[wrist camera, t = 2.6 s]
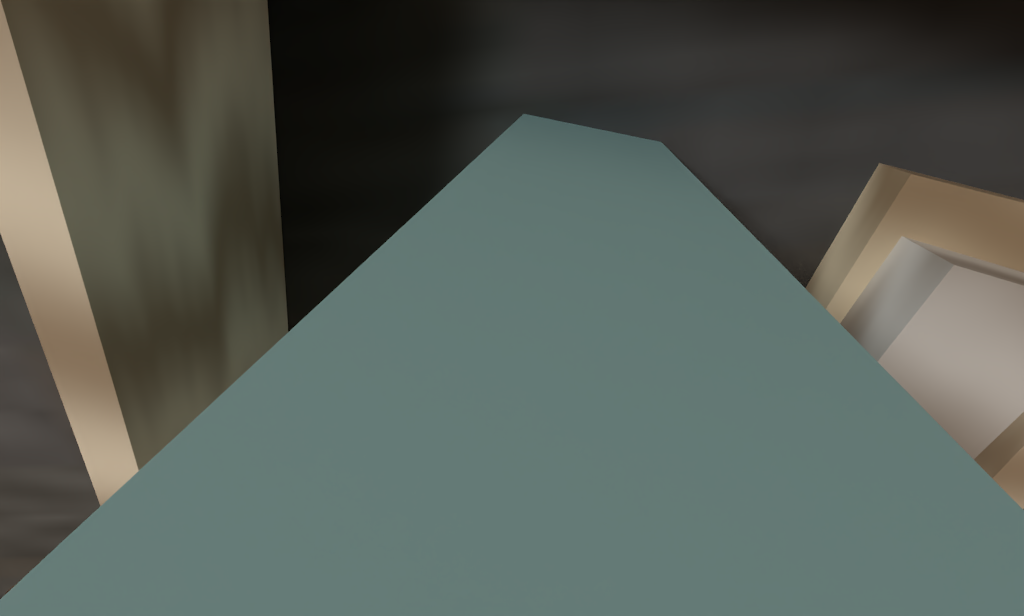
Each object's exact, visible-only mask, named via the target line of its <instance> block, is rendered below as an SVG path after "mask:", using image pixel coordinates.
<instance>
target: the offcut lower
mask: <svg viewBox="0 0 1024 616" xmlns="http://www.w3.org/2000/svg"><path fill="white" fill-rule="evenodd" d="M902 236H903V237H907V238H910V239H913V240H917V241H920V242H923V243H927V244H930V245H933V246H937V247H940V248H943V249H947V250H950V251H953V252H957V253H960V254H963V255H967V256H970V257H973V258H977V259H980V260H983V261H987V262H990V263H993V264H997V265H1000V266H1003V267H1007V268H1010V269H1014V270H1017V271H1020V272H1024V200H1021V199H1017V198H1013V197H1010V196H1006V195H1002V194H998V193H994V192H990V191H986V190H982V189H978V188H974V187H971V186H967V185H963V184H959V183H955V182H951V181H947V180H943V179H939V178H936V177H932V176H928V175H924V174H920V173H916V172H912V171H908V170H904V169H900V168H897V167H893V166H889V165H885V164H881V163H879V165H878V166H877V168H876V170H875V172H874V173H873V175H872V177H871V178H870V180H869V182H868V183H867V185H866V187H865V188H864V190H863V192H862V194H861V195H860V197H859V199H858V200H857V202H856V204H855V205H854V207H853V209H852V210H851V212H850V214H849V215H848V217H847V219H846V221H845V222H844V224H843V226H842V227H841V229H840V231H839V232H838V234H837V236H836V237H835V239H834V241H833V243H832V244H831V246H830V248H829V249H828V251H827V253H826V254H825V256H824V258H823V259H822V261H821V263H820V264H819V266H818V268H817V270H816V271H815V273H814V275H813V276H812V278H811V280H810V281H809V283H808V285H807V286H806V288H805V289H806V290H807V291H808V292H809V293H810V294H811V295H812V296H813V297H814V298H815V299H816V300H817V301H818V302H819V303H820V304H821V305H822V306H823V307H824V308H825V309H826V310H827V311H828V312H829V313H830V314H831V315H832V316H833V317H834V318H835V319H836V320H837V321H838V322H839V323H841V321H842V320H843V319H844V317H845V316H846V314H847V313H848V312H849V310H850V309H851V307H852V306H853V304H854V303H855V302H856V300H857V299H858V297H859V296H860V295H861V293H862V292H863V290H864V289H865V287H866V286H867V285H868V283H869V282H870V280H871V279H872V278H873V276H874V275H875V273H876V272H877V271H878V269H879V268H880V266H881V265H882V263H883V262H884V261H885V259H886V258H887V256H888V255H889V254H890V252H891V251H892V249H893V248H894V247H895V245H896V244H897V242H898V241H899V239H900V238H901V237H902Z"/></svg>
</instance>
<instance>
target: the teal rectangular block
mask: <svg viewBox="0 0 1024 616" xmlns="http://www.w3.org/2000/svg"><path fill="white" fill-rule="evenodd" d="M0 616H1024V510H1023V509H1022V508H1021V507H1020V506H1019V505H1018V504H1017V503H1016V502H1015V501H1014V500H1013V499H1012V498H1011V497H1010V496H1009V495H1008V494H1007V493H1006V492H1005V491H1004V490H1003V489H1002V488H1001V487H1000V486H999V485H998V484H997V483H996V482H995V481H994V480H993V479H992V478H991V477H990V476H989V475H988V474H987V473H986V472H985V471H984V470H983V469H982V468H981V466H980V465H979V464H978V463H977V462H976V461H975V460H974V459H973V458H972V457H971V456H970V455H969V454H968V453H967V452H966V451H965V450H964V449H963V448H962V447H961V446H960V445H959V444H958V443H957V442H956V441H955V440H954V439H953V438H952V437H951V436H950V435H949V434H948V433H947V432H946V431H945V430H944V429H943V428H942V427H941V426H940V425H939V424H938V423H937V422H936V421H935V420H934V419H933V418H932V417H931V416H930V415H929V414H928V413H927V412H926V411H925V410H924V409H923V408H922V407H921V406H920V404H919V403H918V402H917V401H916V400H915V399H914V398H913V397H912V396H911V395H910V394H909V393H908V392H907V391H906V390H905V389H904V388H903V387H902V386H901V385H900V384H899V383H898V382H897V381H896V380H895V379H894V378H893V377H892V376H891V375H890V374H889V373H888V372H887V371H886V370H885V369H884V368H883V367H882V366H881V365H880V364H879V363H878V362H877V361H876V360H875V359H874V358H873V357H872V356H871V355H870V354H869V353H868V352H867V351H866V350H865V349H864V348H863V347H862V346H861V345H860V344H859V343H858V341H857V340H856V339H855V338H854V337H853V336H852V335H851V334H850V333H849V332H848V331H847V330H846V329H845V328H844V327H843V326H842V325H841V324H840V323H839V322H838V321H837V320H836V319H835V318H834V317H833V316H832V315H831V314H830V313H829V312H828V311H827V310H826V309H825V308H824V307H823V306H822V305H821V304H820V303H819V302H818V301H817V300H816V299H815V298H814V297H813V296H812V295H811V294H810V293H809V292H808V291H807V290H806V289H805V288H804V287H803V286H802V285H801V284H800V283H799V282H798V281H797V280H796V278H795V277H794V276H793V275H792V274H791V273H790V272H789V271H788V270H787V269H786V268H785V267H784V266H783V265H782V264H781V263H780V262H779V261H778V260H777V259H776V258H775V257H774V256H773V255H772V254H771V253H770V252H769V251H768V250H767V249H766V248H765V247H764V246H763V245H762V244H761V243H760V242H759V241H758V240H757V239H756V238H755V237H754V236H753V235H752V234H751V233H750V232H749V231H748V230H747V229H746V228H745V227H744V226H743V225H742V224H741V223H740V222H739V221H738V220H737V219H736V218H735V216H734V215H733V214H732V213H731V212H730V211H729V210H728V209H727V208H726V207H725V206H724V205H723V204H722V203H721V202H720V201H719V200H718V199H717V198H716V197H715V196H714V195H713V194H712V193H711V192H710V191H709V190H708V189H707V188H706V187H705V186H704V185H703V184H702V183H701V182H700V181H699V180H698V179H697V178H696V177H695V176H694V175H693V174H692V173H691V172H690V171H689V170H688V169H687V168H686V167H685V166H684V165H683V164H682V163H681V162H680V161H679V160H678V159H677V158H676V157H675V156H674V155H673V153H672V152H671V151H670V150H669V149H668V148H667V147H666V146H665V145H664V144H663V143H662V142H658V141H653V140H648V139H643V138H638V137H634V136H629V135H624V134H619V133H614V132H609V131H604V130H600V129H595V128H590V127H585V126H580V125H575V124H570V123H565V122H561V121H556V120H551V119H546V118H541V117H536V116H531V115H526V114H523V115H522V116H521V117H520V118H519V119H518V120H517V121H516V122H514V123H513V124H512V125H511V126H510V127H509V128H508V129H507V130H506V131H505V132H504V133H503V134H502V135H500V136H499V137H498V138H497V139H496V140H495V141H494V142H493V143H492V144H491V145H490V146H489V147H488V148H486V149H485V150H484V151H483V152H482V153H481V154H480V155H479V156H478V157H477V158H476V159H475V160H473V161H472V162H471V163H470V164H469V165H468V166H467V167H466V168H465V169H464V170H463V171H462V172H461V173H459V174H458V175H457V176H456V177H455V178H454V179H453V180H452V181H451V182H450V183H449V184H448V185H447V186H445V187H444V188H443V189H442V190H441V191H440V192H439V193H438V194H437V195H436V196H435V197H434V198H433V199H431V200H430V201H429V202H428V203H427V204H426V205H425V206H424V207H423V208H422V209H421V210H420V211H418V212H417V213H416V214H415V215H414V216H413V217H412V218H411V219H410V220H409V221H408V222H407V223H406V224H404V225H403V226H402V227H401V228H400V229H399V230H398V231H397V232H396V233H395V234H394V235H393V236H392V237H390V238H389V239H388V240H387V241H386V242H385V243H384V244H383V245H382V246H381V247H380V248H379V249H378V250H376V251H375V252H374V253H373V254H372V255H371V256H370V257H369V258H368V259H367V260H366V261H365V262H363V263H362V264H361V265H360V266H359V267H358V268H357V269H356V270H355V271H354V272H353V273H352V274H351V275H349V276H348V277H347V278H346V279H345V280H344V281H343V282H342V283H341V284H340V285H339V286H338V287H337V288H335V289H334V290H333V291H332V292H331V293H330V294H329V295H328V296H327V297H326V298H325V299H324V300H323V301H321V302H320V303H319V304H318V305H317V306H316V307H315V308H314V309H313V310H312V311H311V312H310V313H308V314H307V315H306V316H305V317H304V318H303V319H302V320H301V321H300V322H299V323H298V324H297V325H296V326H294V327H293V328H292V329H291V330H290V331H289V332H288V333H287V334H286V335H285V336H284V337H283V338H282V339H280V340H279V341H278V342H277V343H276V344H275V345H274V346H273V347H272V348H271V349H270V350H269V351H268V352H266V353H265V354H264V355H263V356H262V357H261V358H260V359H259V360H258V361H257V362H256V363H255V364H253V365H252V366H251V367H250V368H249V369H248V370H247V371H246V372H245V373H244V374H243V375H242V376H241V377H239V378H238V379H237V380H236V381H235V382H234V383H233V384H232V385H231V386H230V387H229V388H228V389H227V390H225V391H224V392H223V393H222V394H221V395H220V396H219V397H218V398H217V399H216V400H215V401H214V402H213V403H211V404H210V405H209V406H208V407H207V408H206V409H205V410H204V411H203V412H202V413H201V414H200V415H198V416H197V417H196V418H195V419H194V420H193V421H192V422H191V423H190V424H189V425H188V426H187V427H186V428H184V429H183V430H182V431H181V432H180V433H179V434H178V435H177V436H176V437H175V438H174V439H173V440H172V441H170V442H169V443H168V444H167V445H166V446H165V447H164V448H163V449H162V450H161V451H160V452H159V453H158V454H156V455H155V456H154V457H153V458H152V459H151V460H150V461H149V462H148V463H147V464H146V465H145V466H143V467H142V468H141V469H140V470H139V471H138V472H137V473H136V474H135V475H134V476H133V477H132V478H131V479H129V480H128V481H127V482H126V483H125V484H124V485H123V486H122V487H121V488H120V489H119V490H118V491H117V492H115V493H114V494H113V495H112V496H111V497H110V498H109V499H108V500H107V501H106V502H105V503H104V504H102V505H101V506H100V507H99V508H98V509H97V510H96V511H95V512H94V513H93V514H92V515H91V516H90V517H88V518H87V519H86V520H85V521H84V522H83V523H82V524H81V525H80V526H79V527H78V528H77V529H76V530H74V531H73V532H72V533H71V534H70V535H69V536H68V537H67V538H66V539H65V540H64V541H63V542H62V543H60V544H59V545H58V546H57V547H56V548H55V549H54V550H53V551H52V552H51V553H50V554H49V555H47V556H46V557H45V558H44V559H43V560H42V561H41V562H40V563H39V564H38V565H37V566H36V567H35V568H33V569H32V570H31V571H30V572H29V573H28V574H27V575H26V576H25V577H24V578H23V579H22V580H21V581H19V582H18V583H17V584H16V585H15V586H14V587H13V588H12V589H11V590H10V591H9V592H8V593H7V594H5V595H4V596H3V597H2V598H1V599H0Z"/></svg>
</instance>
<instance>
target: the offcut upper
mask: <svg viewBox="0 0 1024 616" xmlns="http://www.w3.org/2000/svg"><path fill="white" fill-rule="evenodd" d="M840 324H841V325H842V326H843V327H844V328H845V329H846V330H847V331H848V332H849V333H850V334H851V335H852V336H853V337H854V338H855V339H856V340H857V341H858V343H859V344H860V345H861V346H862V347H863V348H864V349H865V350H866V351H867V352H868V353H869V354H870V355H871V356H872V357H873V358H874V359H875V360H876V361H877V362H878V363H879V364H880V365H881V366H882V367H883V368H884V369H885V370H886V371H887V372H888V373H889V374H890V375H891V376H892V377H893V378H894V379H895V380H896V381H897V382H898V383H899V384H900V385H901V386H902V387H903V388H904V389H905V390H906V391H907V392H908V393H909V394H910V395H911V396H912V397H913V398H914V399H915V400H916V401H917V402H918V403H919V404H920V406H921V407H922V408H923V409H924V410H925V411H926V412H927V413H928V414H929V415H930V416H931V417H932V418H933V419H934V420H935V421H936V422H937V423H938V424H939V425H940V426H941V427H942V428H943V429H944V430H945V431H946V432H947V433H948V434H949V435H950V436H951V437H952V438H953V439H954V440H955V441H956V442H957V443H958V444H959V445H960V446H961V447H962V448H963V449H964V450H965V451H966V452H967V453H968V454H969V455H970V456H971V457H972V458H973V459H975V458H976V457H977V456H978V455H979V454H980V453H981V452H982V451H983V450H984V449H985V448H986V447H987V446H988V445H989V444H990V443H991V442H993V441H994V440H995V439H996V438H997V437H998V436H999V435H1000V434H1001V433H1002V432H1003V431H1004V430H1005V429H1006V428H1007V427H1008V426H1009V425H1010V424H1011V423H1012V422H1013V421H1015V420H1016V419H1017V418H1018V417H1019V416H1020V415H1021V414H1022V413H1023V412H1024V272H1020V271H1017V270H1014V269H1010V268H1007V267H1003V266H1000V265H997V264H993V263H990V262H987V261H983V260H980V259H977V258H973V257H970V256H967V255H963V254H960V253H957V252H953V251H950V250H947V249H943V248H940V247H937V246H933V245H930V244H927V243H923V242H920V241H917V240H913V239H910V238H907V237H903V236H902V237H901V238H900V239H899V241H898V242H897V244H896V245H895V247H894V248H893V249H892V251H891V252H890V254H889V255H888V256H887V258H886V259H885V261H884V262H883V263H882V265H881V266H880V268H879V269H878V271H877V272H876V273H875V275H874V276H873V278H872V279H871V280H870V282H869V283H868V285H867V286H866V287H865V289H864V290H863V292H862V293H861V295H860V296H859V297H858V299H857V300H856V302H855V303H854V304H853V306H852V307H851V309H850V310H849V312H848V313H847V314H846V316H845V317H844V319H843V320H842V321H841V323H840Z"/></svg>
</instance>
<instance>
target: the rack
mask: <svg viewBox="0 0 1024 616" xmlns="http://www.w3.org/2000/svg"><path fill="white" fill-rule="evenodd" d="M0 233H1V236H2V238H3V241H4V244H5V247H6V249H7V252H8V255H9V258H10V260H11V263H12V266H13V268H14V271H15V274H16V277H17V279H18V282H19V285H20V287H21V290H22V293H23V296H24V298H25V301H26V304H27V307H28V309H29V312H30V315H31V317H32V320H33V323H34V326H35V328H36V331H37V334H38V337H39V339H40V342H41V345H42V347H43V350H44V353H45V356H46V358H47V361H48V364H49V366H50V369H51V372H52V375H53V377H54V380H55V383H56V386H57V388H58V391H59V394H60V396H61V399H62V402H63V405H64V407H65V410H66V413H67V416H68V418H69V421H70V424H71V426H72V429H73V432H74V435H75V437H76V440H77V443H78V445H79V448H80V451H81V454H82V456H83V459H84V462H85V465H86V467H87V470H88V473H89V475H90V478H91V481H92V484H93V486H94V489H95V492H96V495H97V497H98V500H99V503H100V505H102V504H104V503H105V502H106V501H107V500H108V499H109V498H110V497H111V496H112V495H113V494H114V493H115V492H117V491H118V490H119V489H120V488H121V487H122V486H123V485H124V484H125V483H126V482H127V481H128V480H129V479H131V478H132V477H133V476H134V475H135V474H136V473H137V472H138V471H139V470H140V469H141V468H142V467H143V466H145V465H146V464H147V463H148V462H149V461H150V460H151V459H152V458H153V457H154V456H155V455H156V454H158V453H159V452H160V451H161V450H162V449H163V448H164V447H165V446H166V445H167V444H168V443H169V442H170V441H172V440H173V439H174V438H175V437H176V436H177V435H178V434H179V433H180V432H181V431H182V430H183V429H184V428H186V427H187V426H188V425H189V424H190V423H191V422H192V421H193V420H194V419H195V418H196V417H197V416H198V415H200V414H201V413H202V412H203V411H204V410H205V409H206V408H207V407H208V406H209V405H210V404H211V403H213V402H214V401H215V400H216V399H217V398H218V397H219V396H220V395H221V394H222V393H223V392H224V391H225V390H227V389H228V388H229V387H230V386H231V385H232V384H233V383H234V382H235V381H236V380H237V379H238V378H239V377H241V376H242V375H243V374H244V373H245V372H246V371H247V370H248V369H249V368H250V367H251V366H252V365H253V364H255V363H256V362H257V361H258V360H259V359H260V358H261V357H262V356H263V355H264V354H265V353H266V352H268V351H269V350H270V349H271V348H272V347H273V346H274V345H275V344H276V343H277V342H278V341H279V340H280V339H282V338H283V337H284V336H285V335H286V334H287V333H288V318H287V302H286V286H285V271H284V255H283V239H282V223H281V207H280V192H279V176H278V160H277V144H276V128H275V113H274V97H273V81H272V65H271V49H270V34H269V18H268V2H267V0H0ZM974 460H975V461H976V462H977V463H978V464H979V465H980V466H981V468H982V469H983V470H984V471H985V472H986V473H987V474H988V475H989V476H990V477H991V478H992V479H993V480H994V481H995V482H996V483H997V484H998V485H999V486H1000V487H1001V488H1002V489H1003V490H1004V491H1005V492H1006V493H1007V494H1008V495H1009V496H1010V497H1011V498H1012V499H1013V500H1014V501H1015V502H1016V503H1017V504H1018V505H1019V506H1020V507H1021V508H1022V509H1023V508H1024V412H1023V413H1022V414H1021V415H1020V416H1019V417H1018V418H1017V419H1016V420H1015V421H1013V422H1012V423H1011V424H1010V425H1009V426H1008V427H1007V428H1006V429H1005V430H1004V431H1003V432H1002V433H1001V434H1000V435H999V436H998V437H997V438H996V439H995V440H994V441H993V442H991V443H990V444H989V445H988V446H987V447H986V448H985V449H984V450H983V451H982V452H981V453H980V454H979V455H978V456H977V457H976V458H975V459H974Z"/></svg>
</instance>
